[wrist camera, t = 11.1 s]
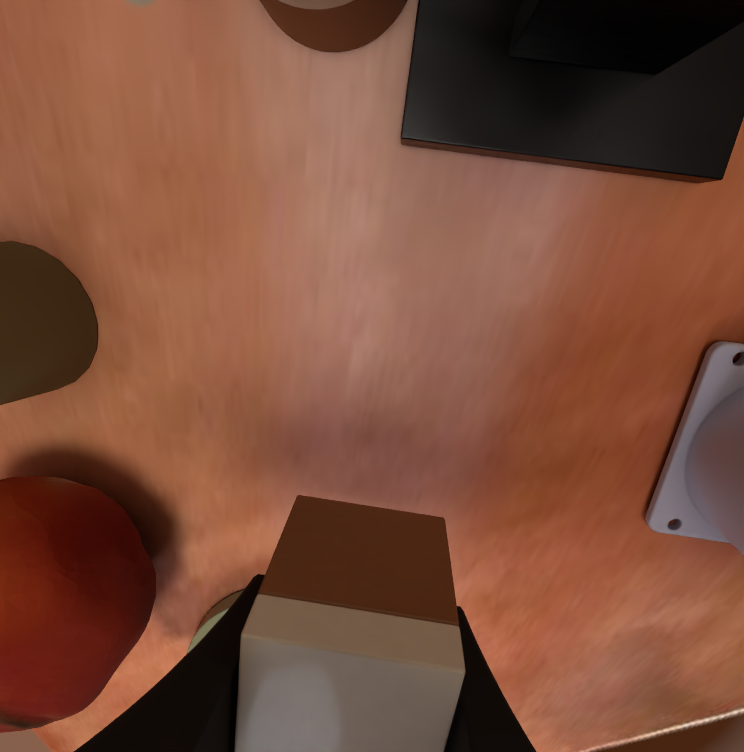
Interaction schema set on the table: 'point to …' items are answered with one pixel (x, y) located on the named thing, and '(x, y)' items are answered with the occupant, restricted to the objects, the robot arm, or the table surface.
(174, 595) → the table surface
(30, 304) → the pepper shaker
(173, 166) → the table surface
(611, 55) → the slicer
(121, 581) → the tomato
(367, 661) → the cake slice
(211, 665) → the robot arm
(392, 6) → the cake
